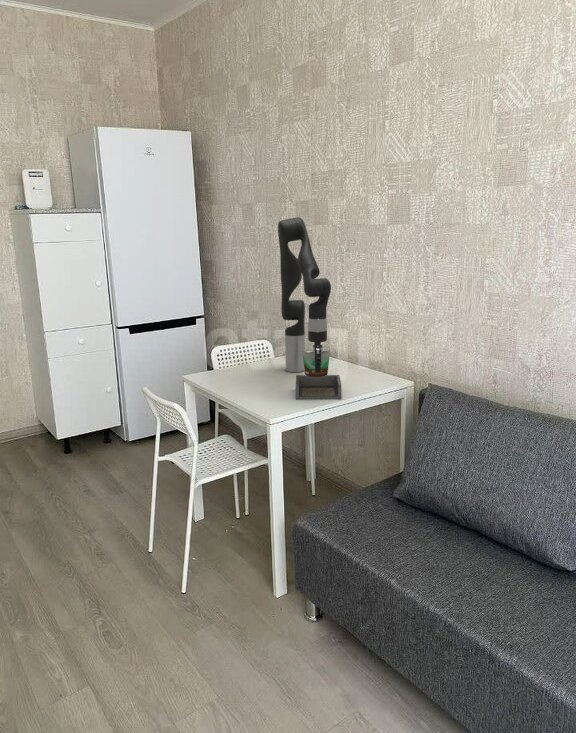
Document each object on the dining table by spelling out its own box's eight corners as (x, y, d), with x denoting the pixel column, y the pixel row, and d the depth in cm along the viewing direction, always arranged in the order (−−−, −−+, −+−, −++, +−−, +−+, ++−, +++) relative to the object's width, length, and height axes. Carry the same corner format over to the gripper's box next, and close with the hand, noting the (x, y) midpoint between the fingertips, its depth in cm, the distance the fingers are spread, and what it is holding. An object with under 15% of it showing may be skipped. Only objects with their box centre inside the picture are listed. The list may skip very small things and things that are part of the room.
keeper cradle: (296, 389, 253) (296, 375, 252) (339, 388, 253) (339, 374, 251) (295, 399, 239) (295, 384, 237) (341, 399, 238) (341, 384, 237)
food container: (305, 378, 238) (305, 354, 235) (301, 374, 244) (301, 350, 241) (335, 376, 241) (335, 351, 238) (330, 372, 246) (330, 348, 244)
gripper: (308, 326, 245) (308, 366, 249) (308, 332, 231) (308, 375, 235) (326, 326, 245) (326, 366, 249) (327, 332, 231) (327, 374, 235)
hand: (317, 370), depth 242 cm, fingers closed on food container, 5 cm apart
